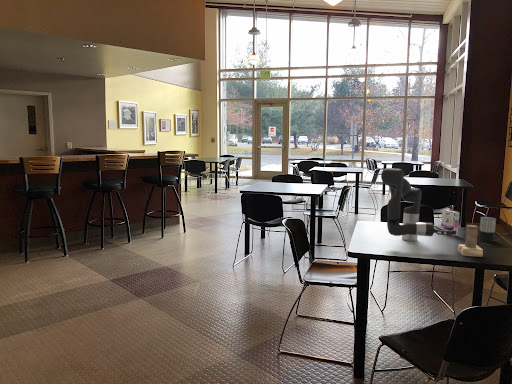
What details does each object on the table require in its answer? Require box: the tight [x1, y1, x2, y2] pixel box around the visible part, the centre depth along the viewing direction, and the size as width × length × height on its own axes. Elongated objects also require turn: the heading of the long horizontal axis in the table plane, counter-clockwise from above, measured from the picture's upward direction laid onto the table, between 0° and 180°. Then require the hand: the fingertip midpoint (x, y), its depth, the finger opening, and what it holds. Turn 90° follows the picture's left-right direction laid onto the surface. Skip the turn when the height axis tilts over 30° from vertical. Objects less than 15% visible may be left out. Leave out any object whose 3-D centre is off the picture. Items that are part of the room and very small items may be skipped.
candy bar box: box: [440, 209, 461, 237], centre depth 284 cm, size 11×5×16 cm, turn 21°
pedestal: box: [457, 243, 484, 258], centre depth 235 cm, size 10×10×4 cm
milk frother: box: [464, 216, 497, 243], centre depth 272 cm, size 14×16×15 cm
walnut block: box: [464, 224, 479, 248], centre depth 233 cm, size 4×4×12 cm
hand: (453, 231), depth 235 cm, fingers open, 8 cm apart
